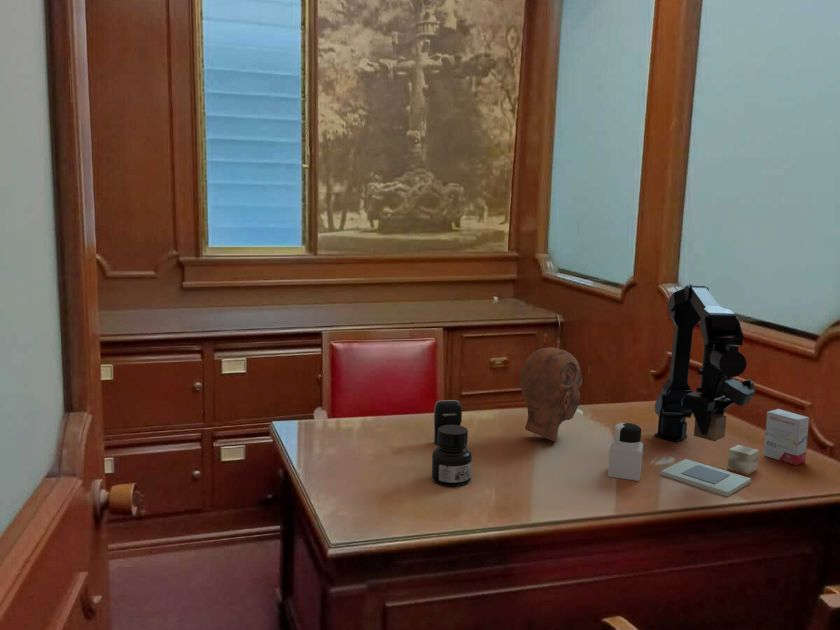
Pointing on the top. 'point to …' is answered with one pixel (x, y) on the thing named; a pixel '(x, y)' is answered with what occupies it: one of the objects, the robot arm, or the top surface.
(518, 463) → the top surface
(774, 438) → the ink box
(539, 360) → the head sculpture
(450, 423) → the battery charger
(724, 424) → the walnut cube
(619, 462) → the medicine bottle
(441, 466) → the ink bottle
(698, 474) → the board
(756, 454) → the maple cube
